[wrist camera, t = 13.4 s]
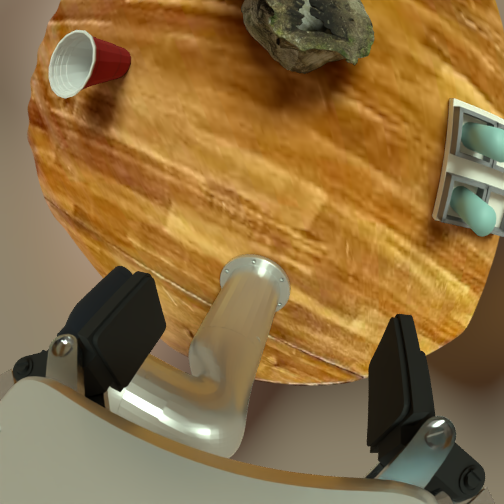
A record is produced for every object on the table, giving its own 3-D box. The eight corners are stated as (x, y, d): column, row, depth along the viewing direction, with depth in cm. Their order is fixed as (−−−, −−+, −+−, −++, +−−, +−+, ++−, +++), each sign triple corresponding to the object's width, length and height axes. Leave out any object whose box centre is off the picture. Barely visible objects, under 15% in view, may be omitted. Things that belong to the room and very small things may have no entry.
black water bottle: (118, 260, 55) (26, 351, 30) (139, 279, 56) (52, 378, 31) (111, 275, 59) (29, 361, 34) (131, 293, 60) (53, 384, 35)
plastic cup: (125, 102, 37) (72, 110, 27) (91, 79, 35) (41, 84, 25) (154, 47, 31) (102, 39, 21) (116, 29, 30) (66, 23, 20)
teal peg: (482, 126, 23) (513, 134, 16) (479, 153, 25) (509, 166, 18) (461, 118, 24) (490, 123, 17) (458, 145, 26) (486, 157, 19)
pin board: (495, 231, 30) (522, 260, 22) (432, 216, 33) (454, 246, 26) (516, 127, 21) (552, 138, 13) (449, 98, 24) (482, 98, 16)
